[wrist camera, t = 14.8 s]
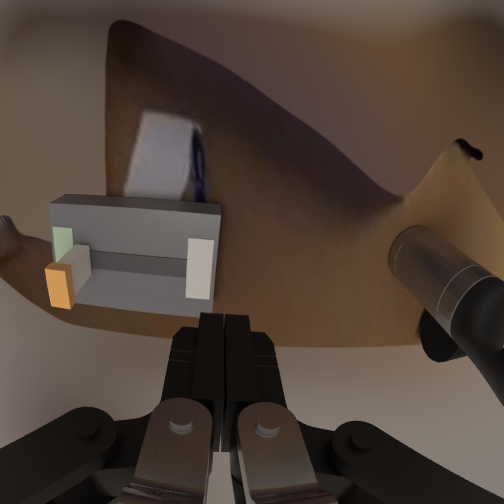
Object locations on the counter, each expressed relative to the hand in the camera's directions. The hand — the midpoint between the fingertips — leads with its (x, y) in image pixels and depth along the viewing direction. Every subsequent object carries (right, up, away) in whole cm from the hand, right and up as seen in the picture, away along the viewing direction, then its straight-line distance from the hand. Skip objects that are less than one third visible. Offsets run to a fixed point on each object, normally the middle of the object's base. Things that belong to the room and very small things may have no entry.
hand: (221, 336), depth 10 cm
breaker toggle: (-20, +2, +26) cm, 33 cm away
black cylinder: (+48, -10, +43) cm, 66 cm away
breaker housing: (-15, +3, +32) cm, 35 cm away
